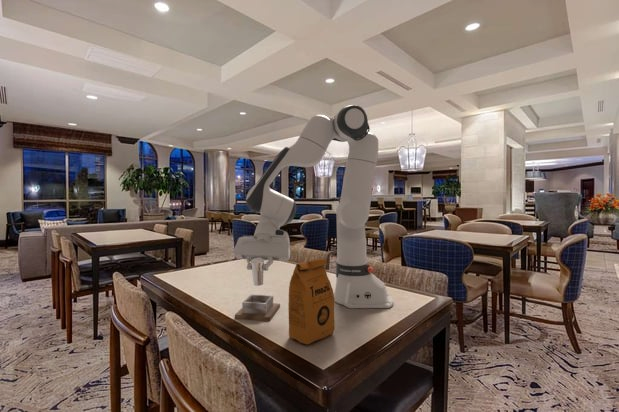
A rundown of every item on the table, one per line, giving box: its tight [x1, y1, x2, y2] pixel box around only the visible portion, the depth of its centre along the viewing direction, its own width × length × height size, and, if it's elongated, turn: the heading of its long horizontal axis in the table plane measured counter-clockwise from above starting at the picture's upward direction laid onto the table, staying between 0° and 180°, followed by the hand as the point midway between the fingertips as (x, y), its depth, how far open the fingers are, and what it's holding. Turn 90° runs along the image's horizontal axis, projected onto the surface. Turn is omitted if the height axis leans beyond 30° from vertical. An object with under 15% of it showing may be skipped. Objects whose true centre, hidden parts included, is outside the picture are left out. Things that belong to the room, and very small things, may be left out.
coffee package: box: [288, 257, 336, 345], centre depth 86 cm, size 10×12×22 cm
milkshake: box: [249, 255, 265, 287], centre depth 103 cm, size 5×5×10 cm
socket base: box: [234, 293, 281, 322], centre depth 104 cm, size 12×12×5 cm
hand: (257, 269), depth 103 cm, fingers closed on milkshake, 4 cm apart
